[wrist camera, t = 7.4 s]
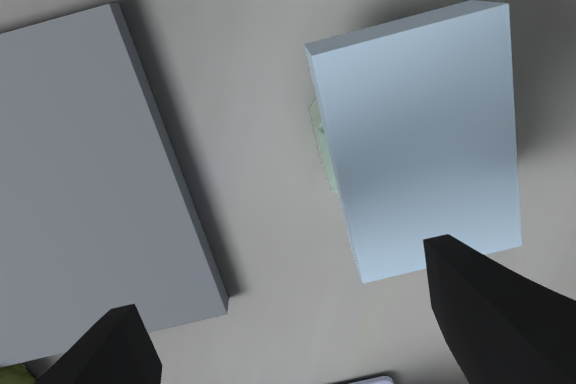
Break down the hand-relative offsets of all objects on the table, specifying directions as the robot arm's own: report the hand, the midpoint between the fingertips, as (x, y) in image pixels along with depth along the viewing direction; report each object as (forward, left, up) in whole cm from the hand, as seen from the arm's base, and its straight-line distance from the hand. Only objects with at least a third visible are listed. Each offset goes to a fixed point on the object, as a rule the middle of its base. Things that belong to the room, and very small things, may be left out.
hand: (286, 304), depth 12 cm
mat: (+1, +10, -10) cm, 14 cm away
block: (+1, -5, -7) cm, 9 cm away
